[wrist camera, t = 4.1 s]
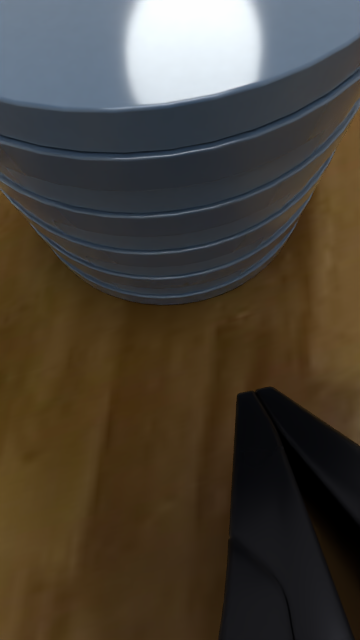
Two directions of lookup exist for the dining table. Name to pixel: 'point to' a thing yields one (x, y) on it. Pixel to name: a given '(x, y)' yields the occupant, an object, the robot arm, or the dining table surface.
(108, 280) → the plate stack
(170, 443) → the dining table surface
